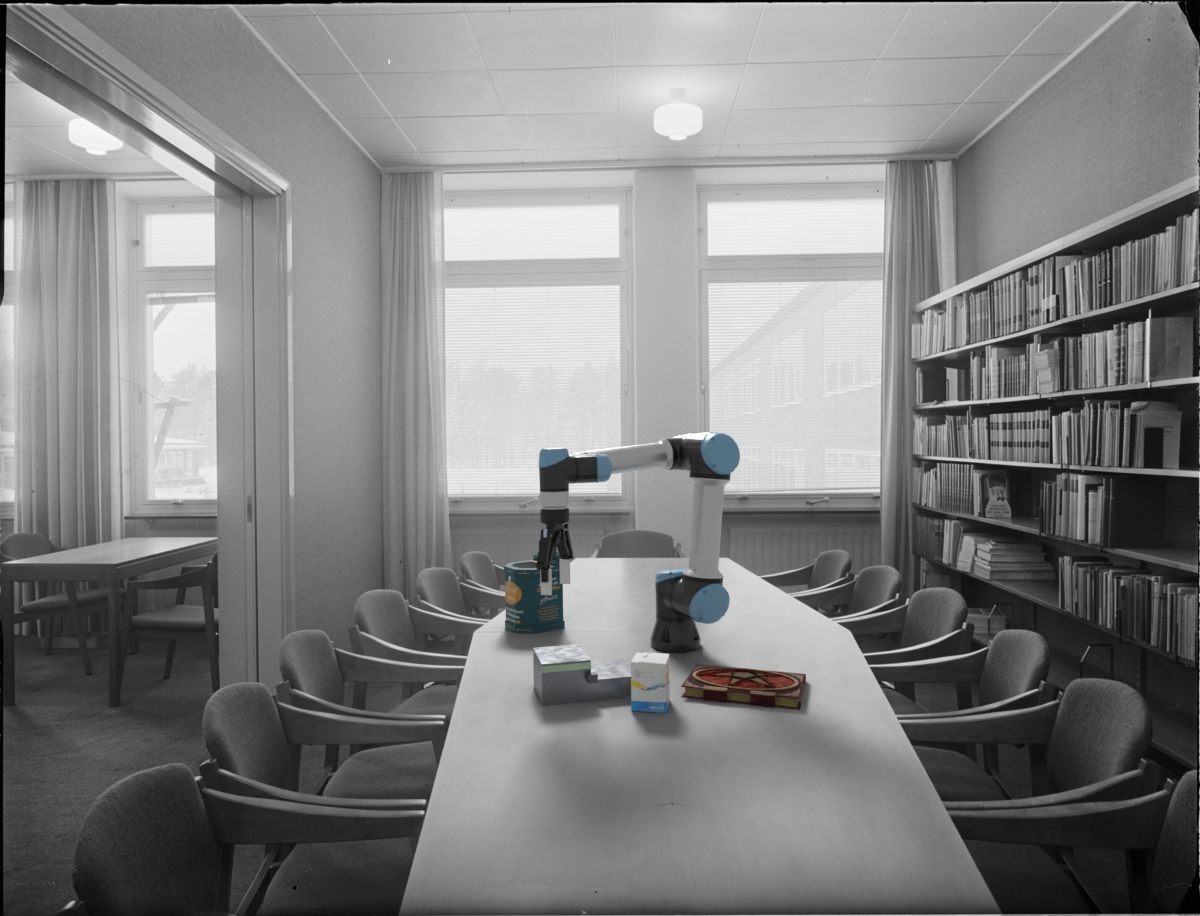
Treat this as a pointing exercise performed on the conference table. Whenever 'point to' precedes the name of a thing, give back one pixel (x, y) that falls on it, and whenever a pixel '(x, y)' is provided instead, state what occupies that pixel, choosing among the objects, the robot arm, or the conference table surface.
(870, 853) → the conference table surface
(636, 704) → the ink box
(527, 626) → the donation box
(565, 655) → the stepped stand
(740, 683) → the book
